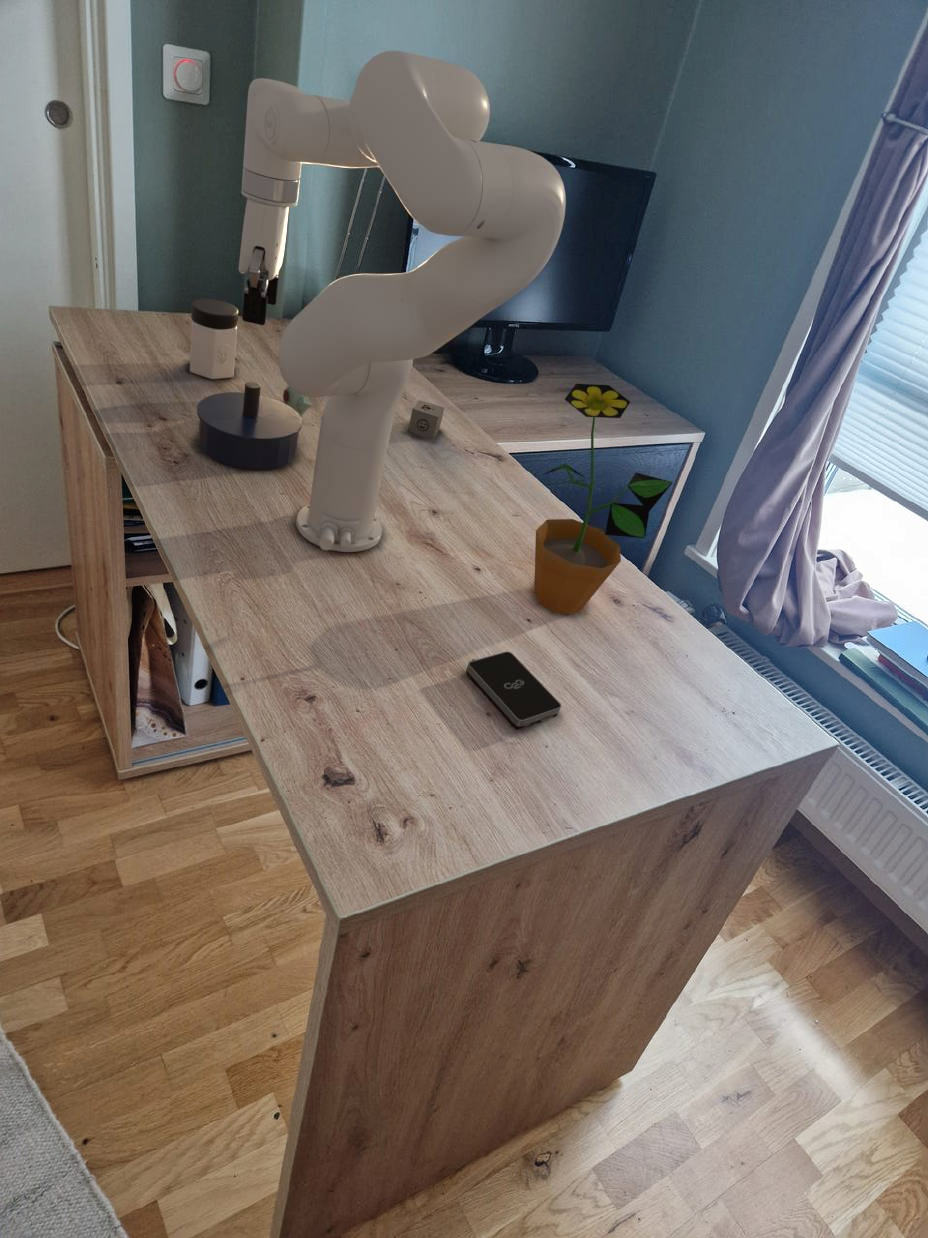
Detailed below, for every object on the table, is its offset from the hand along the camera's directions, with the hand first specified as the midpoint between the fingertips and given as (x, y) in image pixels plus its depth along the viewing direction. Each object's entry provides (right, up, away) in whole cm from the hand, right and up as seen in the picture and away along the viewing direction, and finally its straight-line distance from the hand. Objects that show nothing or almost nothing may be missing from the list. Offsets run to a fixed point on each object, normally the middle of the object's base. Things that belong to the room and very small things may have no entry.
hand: (259, 312), depth 122 cm
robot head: (0, -10, +25) cm, 27 cm away
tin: (-5, -17, +13) cm, 22 cm away
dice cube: (+23, -10, +34) cm, 42 cm away
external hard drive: (+36, -55, -21) cm, 69 cm away
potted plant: (+44, -43, -2) cm, 62 cm away
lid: (-4, -13, +10) cm, 17 cm away
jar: (-17, +1, +34) cm, 38 cm away
